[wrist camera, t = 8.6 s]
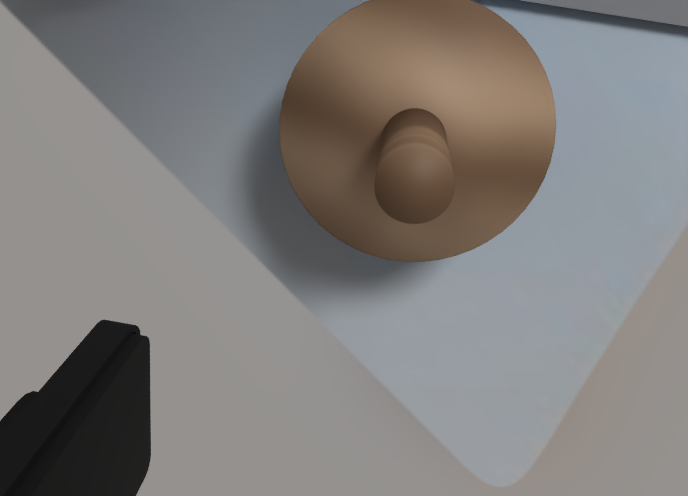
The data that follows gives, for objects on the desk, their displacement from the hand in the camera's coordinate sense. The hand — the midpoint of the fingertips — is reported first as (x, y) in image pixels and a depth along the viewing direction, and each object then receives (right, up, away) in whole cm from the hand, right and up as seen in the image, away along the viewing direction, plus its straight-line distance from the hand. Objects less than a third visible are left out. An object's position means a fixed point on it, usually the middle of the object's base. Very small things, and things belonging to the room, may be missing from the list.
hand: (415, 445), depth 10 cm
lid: (+2, +8, +17) cm, 19 cm away
